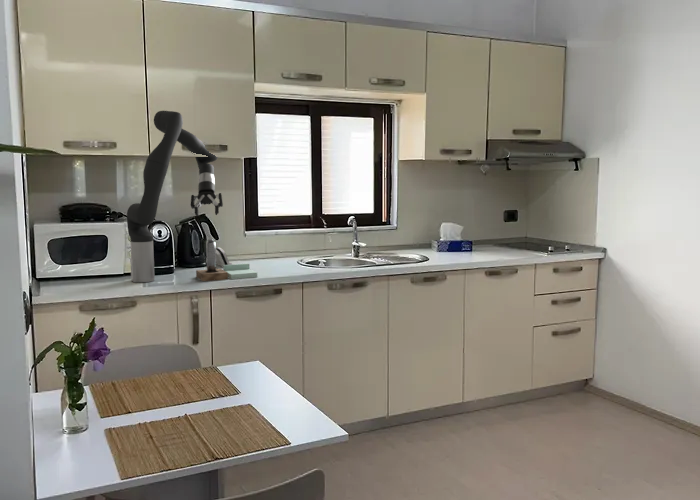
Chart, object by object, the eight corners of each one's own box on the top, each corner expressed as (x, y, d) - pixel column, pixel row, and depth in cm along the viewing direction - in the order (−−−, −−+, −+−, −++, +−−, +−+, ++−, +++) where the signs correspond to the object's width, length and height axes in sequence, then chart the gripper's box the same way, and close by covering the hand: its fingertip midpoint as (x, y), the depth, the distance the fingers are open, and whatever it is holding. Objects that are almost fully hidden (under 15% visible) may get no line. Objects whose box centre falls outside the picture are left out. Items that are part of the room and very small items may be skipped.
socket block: (202, 281, 271) (202, 274, 271) (196, 277, 281) (196, 270, 281) (227, 279, 277) (227, 272, 276) (220, 275, 286) (220, 268, 286)
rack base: (231, 279, 277) (231, 269, 276) (223, 274, 287) (223, 265, 287) (257, 276, 282) (257, 267, 282) (248, 272, 293) (248, 263, 292)
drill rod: (208, 279, 276) (207, 240, 274) (206, 277, 280) (205, 239, 277) (217, 278, 278) (216, 239, 276) (215, 277, 282) (214, 238, 279)
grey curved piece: (233, 267, 308) (226, 248, 306) (224, 270, 307) (217, 252, 304) (225, 262, 323) (218, 244, 321) (216, 265, 322) (209, 247, 319)
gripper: (189, 181, 290) (189, 211, 283) (220, 179, 291) (221, 209, 284) (192, 190, 297) (192, 220, 289) (223, 188, 298) (223, 217, 291)
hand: (206, 214), depth 287 cm, fingers open, 8 cm apart
